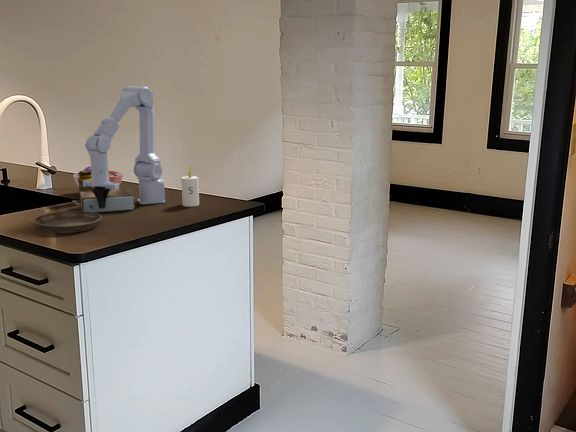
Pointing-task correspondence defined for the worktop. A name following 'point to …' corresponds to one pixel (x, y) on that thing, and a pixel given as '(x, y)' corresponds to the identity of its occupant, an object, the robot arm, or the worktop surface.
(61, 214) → the plant saucer
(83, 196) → the cabinet
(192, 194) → the candle
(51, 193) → the worktop surface
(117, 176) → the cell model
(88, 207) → the door
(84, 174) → the condiment
